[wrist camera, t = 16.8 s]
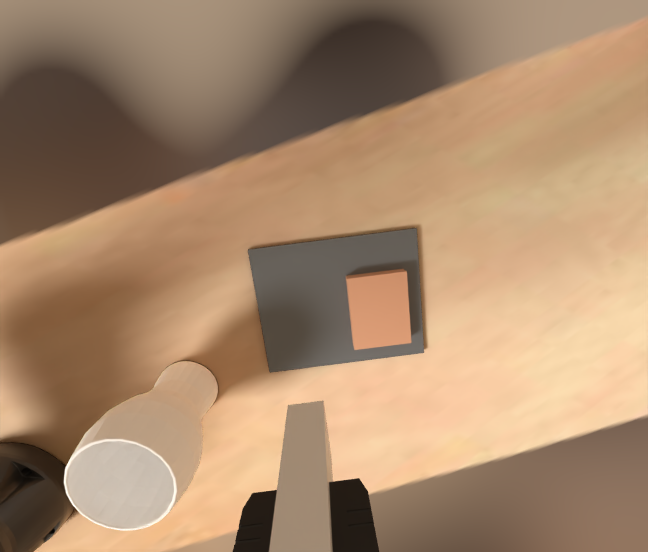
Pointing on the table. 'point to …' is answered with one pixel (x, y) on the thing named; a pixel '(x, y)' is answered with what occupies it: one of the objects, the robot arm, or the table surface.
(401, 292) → the slab
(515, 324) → the table surface
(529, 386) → the table surface
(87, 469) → the cup
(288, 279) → the mat
